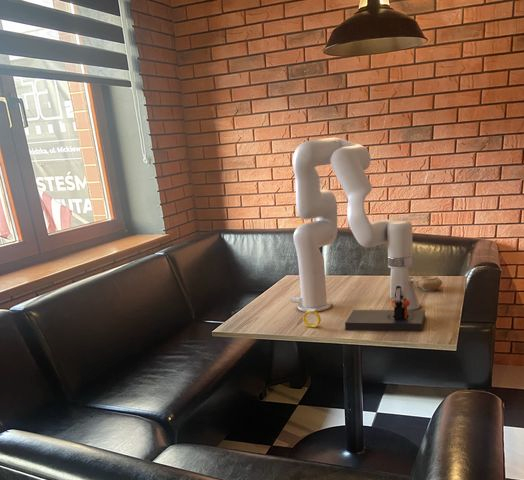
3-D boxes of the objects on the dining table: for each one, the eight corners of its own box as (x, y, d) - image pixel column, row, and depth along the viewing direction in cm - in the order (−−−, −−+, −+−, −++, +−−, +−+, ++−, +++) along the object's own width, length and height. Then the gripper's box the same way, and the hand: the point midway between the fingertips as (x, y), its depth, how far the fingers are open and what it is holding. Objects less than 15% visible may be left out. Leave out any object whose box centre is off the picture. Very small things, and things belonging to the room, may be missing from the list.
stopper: (390, 320, 173) (390, 303, 171) (393, 315, 178) (392, 299, 176) (408, 321, 171) (408, 303, 169) (410, 315, 176) (410, 299, 174)
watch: (302, 327, 183) (301, 310, 181) (306, 324, 185) (305, 308, 183) (318, 328, 179) (317, 311, 177) (322, 326, 182) (320, 309, 179)
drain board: (345, 330, 175) (345, 322, 174) (353, 316, 187) (353, 309, 186) (421, 331, 167) (421, 323, 166) (424, 317, 179) (424, 310, 178)
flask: (420, 310, 186) (420, 282, 183) (399, 310, 188) (399, 283, 185) (419, 304, 193) (419, 277, 190) (398, 305, 195) (398, 278, 191)
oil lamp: (407, 285, 219) (407, 273, 217) (444, 285, 213) (444, 273, 211) (402, 292, 210) (402, 280, 208) (441, 292, 204) (441, 279, 202)
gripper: (391, 256, 177) (392, 308, 183) (384, 268, 162) (385, 324, 168) (414, 255, 174) (415, 308, 181) (409, 267, 159) (409, 325, 166)
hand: (400, 315), depth 174 cm, fingers closed on stopper, 5 cm apart
